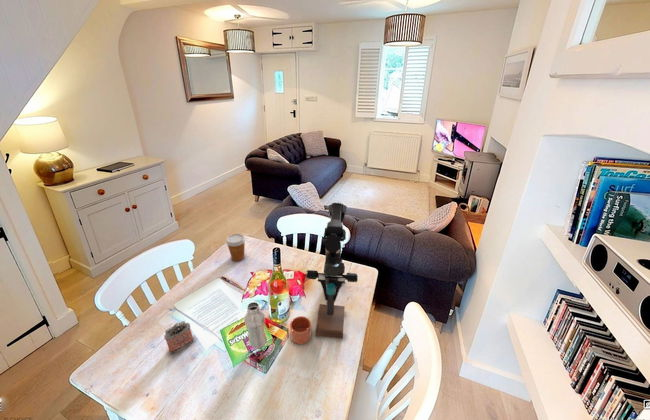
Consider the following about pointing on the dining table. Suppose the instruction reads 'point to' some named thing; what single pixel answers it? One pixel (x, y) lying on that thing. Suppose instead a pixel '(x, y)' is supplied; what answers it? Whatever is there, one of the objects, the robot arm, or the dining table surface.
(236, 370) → the dining table surface
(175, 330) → the broken red brick
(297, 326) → the pen cup
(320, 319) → the shelf
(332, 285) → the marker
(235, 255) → the disposable coffee cup
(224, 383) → the dining table surface
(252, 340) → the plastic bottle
